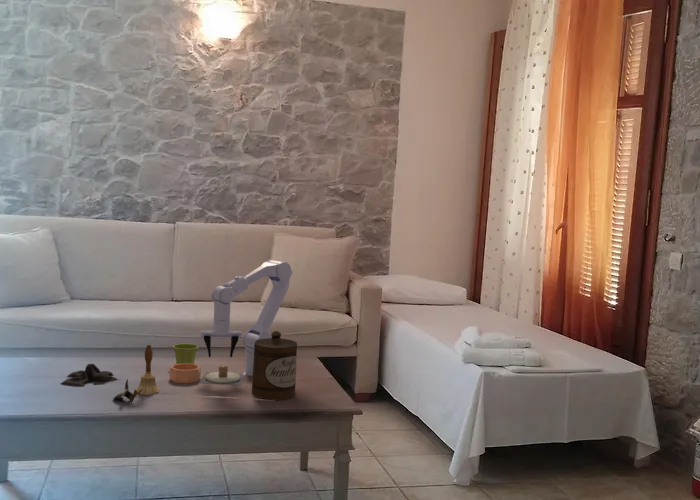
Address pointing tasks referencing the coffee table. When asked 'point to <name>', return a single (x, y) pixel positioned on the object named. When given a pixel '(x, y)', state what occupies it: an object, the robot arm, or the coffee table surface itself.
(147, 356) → the hand bell
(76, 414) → the coffee table surface
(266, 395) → the wooden container
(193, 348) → the plant pot
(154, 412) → the coffee table surface
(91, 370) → the cloth
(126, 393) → the eagle figurine
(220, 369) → the lid
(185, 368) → the bowl
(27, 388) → the coffee table surface
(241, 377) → the mat
